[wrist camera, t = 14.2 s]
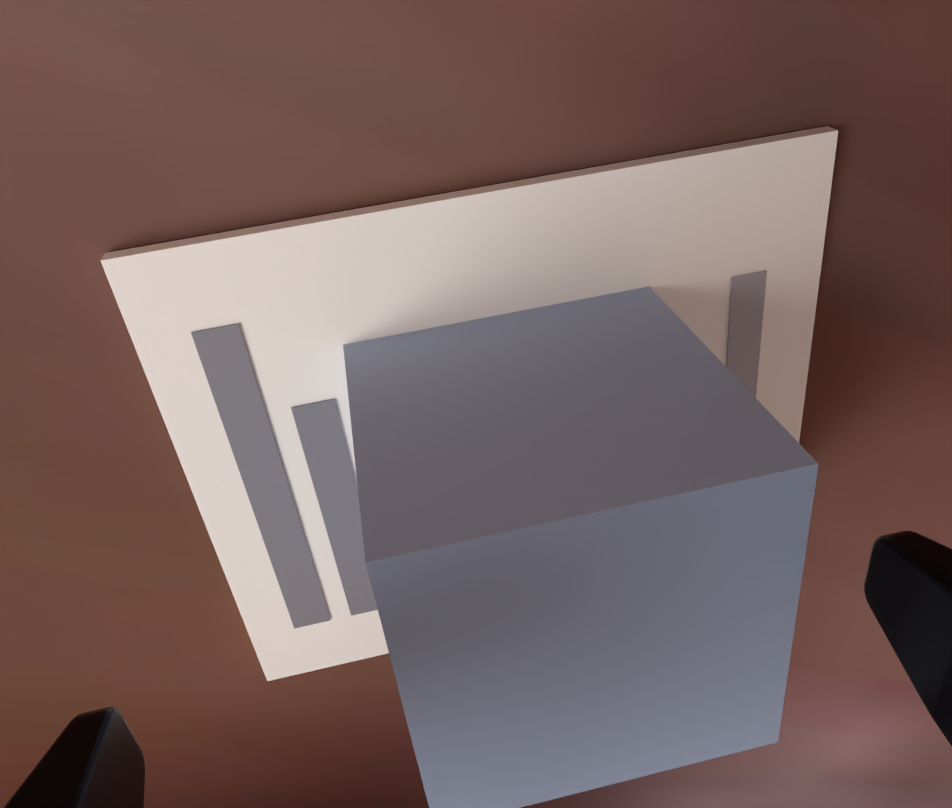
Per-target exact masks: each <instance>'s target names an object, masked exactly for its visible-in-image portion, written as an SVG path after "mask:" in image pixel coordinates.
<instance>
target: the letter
mask: <svg viewBox="0 0 952 808" xmlns="http://www.w3.org/2000/svg"><path fill="white" fill-rule="evenodd" d="M837 138H838V130H836V129H834V128H831V127H829V126H825V127H819V128H814V129H808V130H802V131H797V132H791V133H785V134H779V135H774V136H768V137H762V138H757V139H751V140H745V141H740V142H734V143H728V144H723V145H717V146H711V147H705V148H700V149H694V150H688V151H683V152H677V153H671V154H666V155H660V156H654V157H649V158H643V159H637V160H631V161H626V162H620V163H614V164H609V165H603V166H597V167H592V168H586V169H580V170H575V171H569V172H563V173H557V174H552V175H546V176H540V177H535V178H529V179H523V180H518V181H512V182H506V183H501V184H495V185H489V186H484V187H478V188H472V189H466V190H461V191H455V192H449V193H444V194H438V195H432V196H427V197H421V198H415V199H410V200H404V201H398V202H392V203H387V204H381V205H375V206H370V207H364V208H358V209H353V210H347V211H341V212H336V213H330V214H324V215H318V216H313V217H307V218H301V219H296V220H290V221H284V222H279V223H273V224H267V225H262V226H256V227H250V228H244V229H239V230H233V231H227V232H222V233H216V234H210V235H205V236H199V237H193V238H188V239H182V240H176V241H171V242H165V243H159V244H153V245H148V246H142V247H136V248H131V249H125V250H119V251H114V252H108V253H105V254H104V256H103V257H102V259H101V263H102V266H103V268H104V271H105V273H106V276H107V278H108V281H109V283H110V286H111V288H112V291H113V293H114V296H115V298H116V301H117V303H118V306H119V308H120V311H121V313H122V316H123V319H124V321H125V324H126V326H127V329H128V331H129V334H130V336H131V339H132V341H133V344H134V346H135V349H136V351H137V354H138V356H139V359H140V361H141V364H142V366H143V369H144V371H145V374H146V377H147V379H148V382H149V384H150V387H151V389H152V392H153V394H154V397H155V399H156V402H157V404H158V407H159V409H160V412H161V414H162V417H163V419H164V422H165V424H166V427H167V429H168V432H169V435H170V437H171V440H172V442H173V445H174V447H175V450H176V452H177V455H178V457H179V460H180V462H181V465H182V467H183V470H184V472H185V475H186V477H187V480H188V482H189V485H190V487H191V490H192V492H193V495H194V498H195V500H196V503H197V505H198V508H199V510H200V513H201V515H202V518H203V520H204V523H205V525H206V528H207V530H208V533H209V535H210V538H211V540H212V543H213V545H214V548H215V550H216V553H217V556H218V558H219V561H220V563H221V566H222V568H223V571H224V573H225V576H226V578H227V581H228V583H229V586H230V588H231V591H232V593H233V596H234V598H235V601H236V603H237V606H238V608H239V611H240V614H241V616H242V619H243V621H244V624H245V626H246V629H247V631H248V634H249V636H250V639H251V641H252V644H253V646H254V649H255V651H256V654H257V656H258V659H259V661H260V664H261V666H262V669H263V671H264V674H265V677H266V679H267V681H271V680H275V679H279V678H284V677H288V676H292V675H297V674H301V673H305V672H310V671H314V670H318V669H322V668H327V667H331V666H335V665H340V664H344V663H348V662H353V661H357V660H361V659H366V658H370V657H374V656H379V655H383V654H387V653H389V651H388V647H387V644H386V640H385V636H384V632H383V628H382V624H381V621H380V617H379V613H378V609H377V605H376V601H375V597H374V594H373V590H372V586H371V582H370V578H369V574H368V571H367V567H366V563H365V553H364V544H363V534H362V524H361V515H360V505H359V495H358V486H357V476H356V466H355V457H354V447H353V437H352V427H351V418H350V408H349V398H348V389H347V379H346V369H345V360H344V350H343V345H344V344H349V343H355V342H360V341H365V340H370V339H376V338H381V337H386V336H391V335H397V334H402V333H407V332H412V331H418V330H423V329H428V328H433V327H439V326H444V325H449V324H454V323H460V322H465V321H470V320H475V319H480V318H486V317H491V316H496V315H501V314H507V313H512V312H517V311H522V310H528V309H533V308H538V307H543V306H549V305H554V304H559V303H564V302H570V301H575V300H580V299H585V298H591V297H596V296H601V295H606V294H612V293H617V292H622V291H627V290H632V289H638V288H643V287H648V286H649V287H650V288H651V289H652V290H653V291H654V292H655V293H656V294H657V295H658V296H659V297H660V298H661V299H662V300H663V301H664V302H665V303H666V304H667V306H668V307H669V308H670V309H671V310H672V311H673V312H674V313H675V314H676V315H677V316H678V317H679V318H680V319H681V320H682V321H683V322H684V323H685V324H686V325H687V326H688V327H689V329H690V330H691V331H692V332H693V333H694V334H695V335H696V336H697V337H698V338H699V339H700V340H701V341H702V342H703V343H704V344H705V345H706V346H707V347H708V348H709V349H710V351H711V352H712V353H713V354H714V355H715V356H716V357H717V358H718V359H719V360H720V361H721V362H722V363H723V364H724V365H725V366H726V367H727V368H728V369H729V370H730V371H731V372H732V374H733V375H734V376H735V377H736V378H737V379H738V380H739V381H740V382H741V383H742V384H743V385H744V386H745V387H746V388H747V389H748V390H749V391H750V392H751V393H752V394H753V395H754V397H755V398H756V399H757V400H758V401H759V402H760V403H761V404H762V405H763V406H764V407H765V408H766V409H767V410H768V411H769V412H770V413H771V414H772V415H773V416H774V417H775V419H776V420H777V421H778V422H779V423H780V424H781V425H782V426H783V427H784V428H785V429H786V430H787V431H788V432H789V433H790V434H791V435H792V436H793V437H794V438H795V439H796V440H797V442H798V443H799V439H800V432H801V424H802V416H803V408H804V400H805V392H806V384H807V376H808V368H809V360H810V352H811V344H812V336H813V328H814V320H815V312H816V304H817V297H818V289H819V281H820V273H821V265H822V257H823V249H824V241H825V233H826V225H827V217H828V209H829V201H830V193H831V185H832V177H833V169H834V162H835V154H836V146H837Z"/></svg>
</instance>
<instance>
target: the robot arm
mask: <svg viewBox="0 0 952 808" xmlns="http://www.w3.org/2000/svg"><path fill="white" fill-rule="evenodd" d="M864 590H865V596H866V599H867V602H868V604H869V606H870V608H871V610H872V611H873V613H874V615H875V617H876V619H877V620H878V622H879V624H880V626H881V628H882V629H883V631H884V633H885V635H886V637H887V638H888V640H889V642H890V644H891V646H892V647H893V649H894V651H895V653H896V655H897V656H898V658H899V660H900V662H901V664H902V665H903V667H904V669H905V671H906V673H907V674H908V676H909V678H910V680H911V682H912V683H913V685H914V687H915V689H916V690H917V692H918V694H919V696H920V698H921V699H922V701H923V703H924V704H925V706H926V708H927V709H928V711H929V713H930V714H931V716H932V718H933V719H934V721H935V722H936V724H937V725H938V727H939V728H940V730H941V731H942V733H943V734H944V736H945V737H946V739H947V740H948V741H949V743H950V744H951V746H952V549H950V548H948V547H946V546H944V545H942V544H940V543H937V542H935V541H933V540H931V539H929V538H927V537H925V536H922V535H920V534H918V533H915V532H912V531H902V532H897V533H893V534H888V535H884V536H880V537H878V538H877V539H876V540H875V542H874V543H873V546H872V550H871V555H870V559H869V564H868V569H867V573H866V578H865V583H864ZM144 782H145V765H144V758H143V754H142V751H141V749H140V747H139V745H138V743H137V741H136V739H135V737H134V736H133V734H132V732H131V730H130V728H129V726H128V725H127V723H126V721H125V719H124V717H123V715H122V714H121V712H120V711H119V710H118V709H116V708H114V707H108V708H104V709H99V710H95V711H90V712H86V713H82V714H79V715H78V716H76V717H75V718H74V719H73V720H71V722H70V723H69V724H68V725H67V727H66V728H65V729H64V730H63V732H62V733H61V734H60V736H59V737H58V738H57V740H56V741H55V742H54V743H53V745H52V746H51V747H50V749H49V750H48V751H47V752H46V754H45V755H44V756H43V758H42V759H41V760H40V762H39V763H38V764H37V765H36V767H35V768H34V769H33V771H32V772H31V773H30V774H29V776H28V777H27V778H26V780H25V781H24V782H23V783H22V785H21V786H20V787H19V789H18V790H17V791H16V793H15V794H14V795H13V796H12V798H11V799H10V800H9V802H8V803H7V804H6V805H5V807H4V808H143V806H144Z"/></svg>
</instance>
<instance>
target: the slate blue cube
mask: <svg viewBox="0 0 952 808" xmlns="http://www.w3.org/2000/svg"><path fill="white" fill-rule="evenodd" d="M343 350H344V360H345V369H346V379H347V389H348V398H349V408H350V418H351V427H352V437H353V447H354V457H355V466H356V476H357V486H358V495H359V505H360V515H361V524H362V534H363V544H364V553H365V563H366V567H367V571H368V574H369V578H370V582H371V586H372V590H373V594H374V597H375V601H376V605H377V609H378V613H379V617H380V621H381V624H382V628H383V632H384V636H385V640H386V644H387V647H388V651H389V655H390V659H391V663H392V667H393V671H394V674H395V678H396V682H397V686H398V690H399V694H400V697H401V701H402V705H403V709H404V713H405V717H406V721H407V724H408V728H409V732H410V736H411V740H412V744H413V747H414V751H415V755H416V759H417V763H418V767H419V771H420V774H421V778H422V782H423V786H424V790H425V794H426V797H427V801H428V805H429V808H521V807H525V806H529V805H532V804H536V803H540V802H544V801H548V800H552V799H556V798H560V797H564V796H568V795H572V794H576V793H580V792H584V791H588V790H592V789H596V788H599V787H603V786H607V785H611V784H615V783H619V782H623V781H627V780H631V779H635V778H639V777H643V776H647V775H651V774H655V773H659V772H663V771H666V770H670V769H674V768H678V767H682V766H686V765H690V764H694V763H698V762H702V761H706V760H710V759H714V758H718V757H722V756H726V755H729V754H733V753H737V752H741V751H745V750H749V749H753V748H757V747H761V746H765V745H769V744H773V743H777V742H778V738H779V731H780V724H781V718H782V711H783V704H784V697H785V690H786V683H787V677H788V670H789V663H790V656H791V649H792V642H793V636H794V629H795V622H796V615H797V608H798V601H799V595H800V588H801V581H802V574H803V567H804V560H805V554H806V547H807V540H808V533H809V526H810V520H811V513H812V506H813V499H814V492H815V485H816V479H817V472H818V465H819V463H818V462H817V461H816V460H815V459H814V458H813V457H812V456H811V455H810V454H809V453H808V452H807V451H806V450H805V449H804V448H803V447H802V446H801V445H800V444H799V443H798V442H797V440H796V439H795V438H794V437H793V436H792V435H791V434H790V433H789V432H788V431H787V430H786V429H785V428H784V427H783V426H782V425H781V424H780V423H779V422H778V421H777V420H776V419H775V417H774V416H773V415H772V414H771V413H770V412H769V411H768V410H767V409H766V408H765V407H764V406H763V405H762V404H761V403H760V402H759V401H758V400H757V399H756V398H755V397H754V395H753V394H752V393H751V392H750V391H749V390H748V389H747V388H746V387H745V386H744V385H743V384H742V383H741V382H740V381H739V380H738V379H737V378H736V377H735V376H734V375H733V374H732V372H731V371H730V370H729V369H728V368H727V367H726V366H725V365H724V364H723V363H722V362H721V361H720V360H719V359H718V358H717V357H716V356H715V355H714V354H713V353H712V352H711V351H710V349H709V348H708V347H707V346H706V345H705V344H704V343H703V342H702V341H701V340H700V339H699V338H698V337H697V336H696V335H695V334H694V333H693V332H692V331H691V330H690V329H689V327H688V326H687V325H686V324H685V323H684V322H683V321H682V320H681V319H680V318H679V317H678V316H677V315H676V314H675V313H674V312H673V311H672V310H671V309H670V308H669V307H668V306H667V304H666V303H665V302H664V301H663V300H662V299H661V298H660V297H659V296H658V295H657V294H656V293H655V292H654V291H653V290H652V289H651V288H650V287H649V286H648V287H643V288H638V289H632V290H627V291H622V292H617V293H612V294H606V295H601V296H596V297H591V298H585V299H580V300H575V301H570V302H564V303H559V304H554V305H549V306H543V307H538V308H533V309H528V310H522V311H517V312H512V313H507V314H501V315H496V316H491V317H486V318H480V319H475V320H470V321H465V322H460V323H454V324H449V325H444V326H439V327H433V328H428V329H423V330H418V331H412V332H407V333H402V334H397V335H391V336H386V337H381V338H376V339H370V340H365V341H360V342H355V343H349V344H344V345H343Z"/></svg>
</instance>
